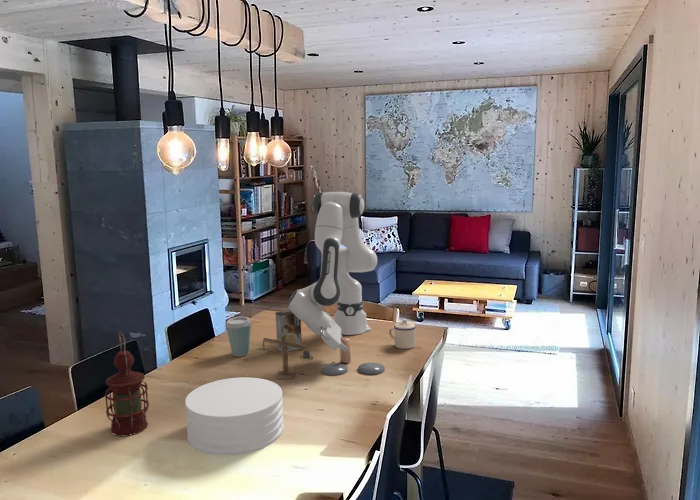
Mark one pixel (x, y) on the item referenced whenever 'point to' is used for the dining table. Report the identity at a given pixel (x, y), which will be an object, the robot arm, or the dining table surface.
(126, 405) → the lantern
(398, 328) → the teacup with lid
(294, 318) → the coffee box
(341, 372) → the dish
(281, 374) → the balance
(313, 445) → the dining table surface
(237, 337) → the disposable coffee cup
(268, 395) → the plate stack
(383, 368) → the dish
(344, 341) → the peach shift knob
